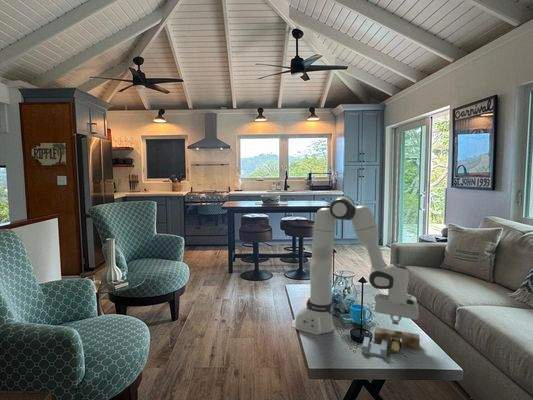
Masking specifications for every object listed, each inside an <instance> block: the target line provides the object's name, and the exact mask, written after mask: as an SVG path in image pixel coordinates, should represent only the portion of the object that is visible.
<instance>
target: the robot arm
mask: <svg viewBox="0 0 533 400" xmlns="http://www.w3.org/2000/svg"><path fill="white" fill-rule="evenodd" d="M338 220H341V221H350V222H351V223H352V227H353V230H354V234H355V236H356V239H357V241H358V243H360V245H362V246H363V247H364V248H365V250H366V251H367V254H368V256H369V260H370V263H371V268H370V272H369V277H368V282H369V283H370V285H371V286H372V287H373V288H375V289H377V290H387V294H381V293H378V294H376V295H374V301H375V305H374V311H375V313H377V314H378V313H379V314H384V315H388V316H389V317H390V319H391V322H392V323H391V324H392V325H398V326H399V323H400V321H401V320H402V318H404V319H411V320H414V321H415V320H416V321H417V320H419V306H418V303H417V302H418V300H417V297H415V296H413V295H411V294H410V293H408V285H409V271H408V268H407V267H406V266H405V265H404V264H402V263H401V264H400V263H397V262H392V263H391V264H389V265H387V264H386V262H385V260H384V258H383V255H382V252H381V249H380V243H379V242H380V239H379V229H378V225H377V222H376V219H375V217H374V214H373V212H372V210H371V208H370V207H369V206H367V205H355V202H354V201H353V199H352V198H351V197H349V196H347V195H341V196H337V197H336V198H335V199H334V200H332V201H331V203H330V205H329V207H321V208H319V209H318V210H317V211H316V214H315V217H314V223H313V230H312V241H311V242H312V243H311V245H312V248H311V260H310V265H309V284H310V289H309V290H310V292H309V293H310V295H309V296H310V297H308V299H307V300H306V303H305V304H306V305H305V307H303V308H302V309H300V310H298V312H297V314H296V316H295V318H294V319H293V320H292V322H291V328H292V329H295V330H299V331H301V332H305V333H309V334H312V335H314V336H315V335H316V336H318V335H321V334H328V333H331V332H333V331H334V330H335V325H334V321H333V301H332V295H333V294H332V290H333V289H332V285H333V284H332V283H333V282H332V279H333V276H332V275H333V271H332V270H333V257H334V255H333V254H334V248H335V247H334V245H335V233H336V224H337V221H338ZM394 316H395V317H397V318H398V319H395V318H394Z"/></svg>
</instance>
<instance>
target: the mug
mask: <svg viewBox="0 0 533 400" xmlns="http://www.w3.org/2000/svg"><path fill="white" fill-rule="evenodd" d="M361 305H362V304H358V303H354V304H351V305H350V309H349V310H350V311H349V313H350V315H349V318H350V317H351V319H353V320H354V321H355V322H356V323H358V324H360V319H361ZM366 311H368V312H369V315H368V317H366V313H367V312H366ZM372 315H373V313H372V311H371V309H370V308H368V307H366V306H365V305H363V324H362V325H364V324H366V321H367V320H369V319H370V318H372ZM358 324H357V325H358Z"/></svg>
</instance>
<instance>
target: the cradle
mask: <svg viewBox="0 0 533 400" xmlns="http://www.w3.org/2000/svg"><path fill="white" fill-rule="evenodd" d="M387 342H388V341H385V340H382V344H380V343H375V342H371V338H370V337H367V336H364V339H363V341H362V345H361V354H363V355H369V356H374V357H375V356H376V357H380V358H383V359H387V355H388V354H387V353H388V345H387Z"/></svg>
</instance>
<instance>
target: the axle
mask: <svg viewBox="0 0 533 400" xmlns="http://www.w3.org/2000/svg"><path fill="white" fill-rule="evenodd" d="M400 342H401V339H399V338H393V337H392V339H391V345H390V353H392V355H395V356H396V355H398V354H399V353H400V345H401V343H400Z"/></svg>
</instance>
